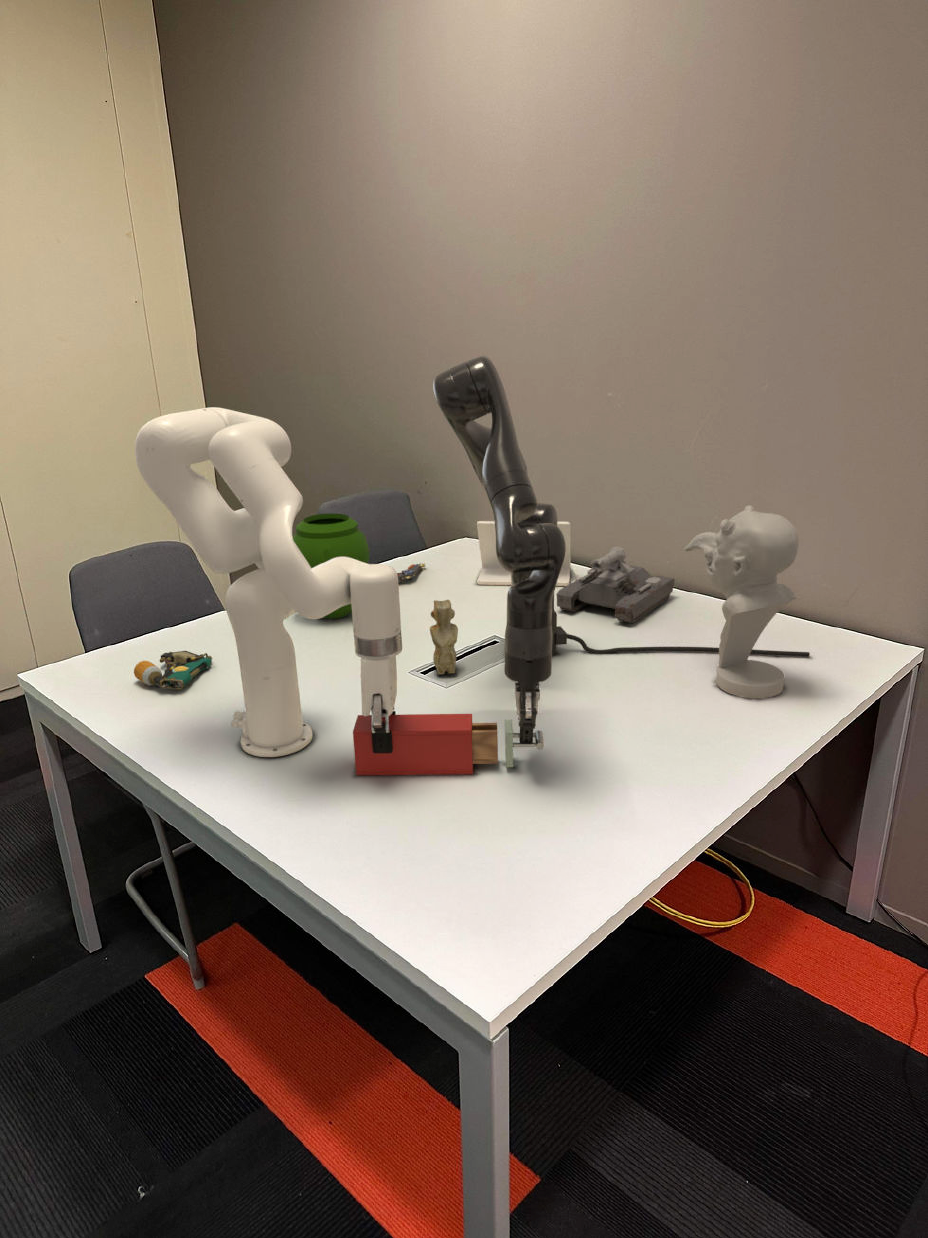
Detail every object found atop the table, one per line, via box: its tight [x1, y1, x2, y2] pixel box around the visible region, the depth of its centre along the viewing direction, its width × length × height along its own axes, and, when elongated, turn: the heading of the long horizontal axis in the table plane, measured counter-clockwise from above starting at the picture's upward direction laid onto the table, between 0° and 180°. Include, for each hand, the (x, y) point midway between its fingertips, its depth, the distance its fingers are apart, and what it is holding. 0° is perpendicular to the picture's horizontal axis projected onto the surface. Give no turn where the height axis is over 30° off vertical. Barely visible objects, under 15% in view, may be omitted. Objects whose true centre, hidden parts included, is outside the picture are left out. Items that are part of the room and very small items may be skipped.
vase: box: [293, 512, 370, 620], centre depth 209 cm, size 20×20×24 cm
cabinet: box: [352, 713, 474, 776], centre depth 142 cm, size 19×6×8 cm, turn 89°
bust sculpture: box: [684, 505, 799, 699], centre depth 167 cm, size 16×24×35 cm
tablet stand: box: [476, 520, 572, 587], centre depth 236 cm, size 18×25×17 cm
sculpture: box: [429, 599, 459, 675], centre depth 177 cm, size 6×7×15 cm
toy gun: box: [397, 562, 426, 583], centre depth 240 cm, size 3×19×10 cm
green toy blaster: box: [133, 650, 213, 690], centre depth 180 cm, size 4×17×15 cm
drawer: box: [472, 719, 545, 768], centre depth 142 cm, size 23×5×6 cm, turn 89°
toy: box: [556, 546, 676, 624], centre depth 212 cm, size 25×20×15 cm
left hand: (385, 741), depth 142 cm, fingers closed on cabinet, 5 cm apart
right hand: (526, 744), depth 141 cm, fingers closed
